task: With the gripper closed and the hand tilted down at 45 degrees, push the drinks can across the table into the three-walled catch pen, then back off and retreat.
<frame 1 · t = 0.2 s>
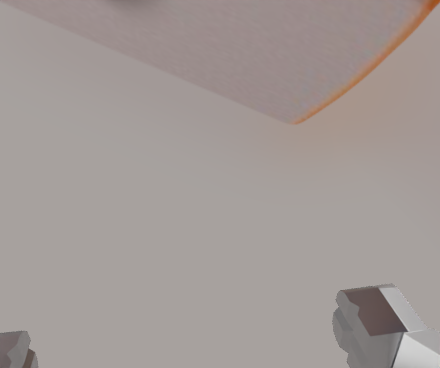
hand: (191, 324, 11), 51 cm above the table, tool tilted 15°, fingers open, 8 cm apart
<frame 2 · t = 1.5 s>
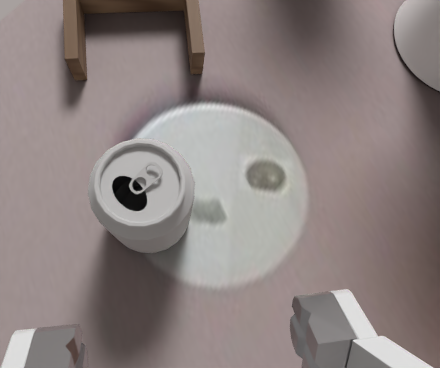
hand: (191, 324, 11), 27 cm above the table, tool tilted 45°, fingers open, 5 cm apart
catch pen: (137, 47, 43), on the table
can: (150, 214, 39), on the table
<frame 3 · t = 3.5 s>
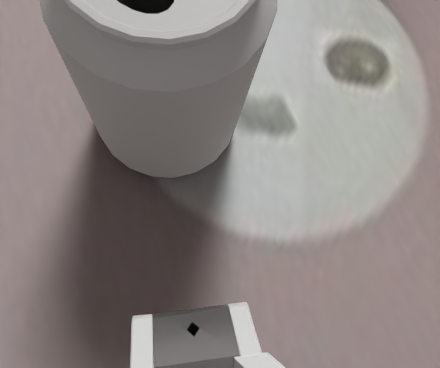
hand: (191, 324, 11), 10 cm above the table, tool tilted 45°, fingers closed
can: (167, 118, 23), on the table
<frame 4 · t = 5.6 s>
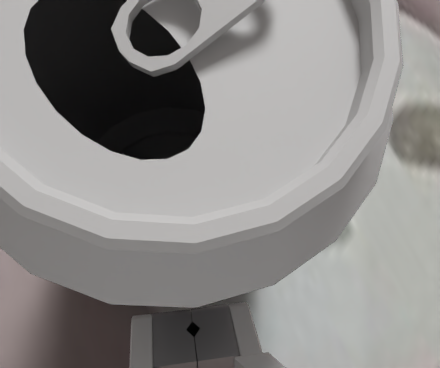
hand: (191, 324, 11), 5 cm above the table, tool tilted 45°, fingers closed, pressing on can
can: (173, 203, 17), on the table, touching gripper
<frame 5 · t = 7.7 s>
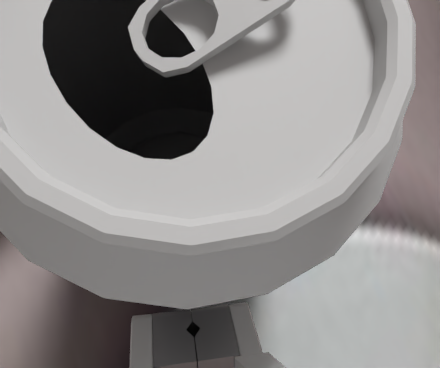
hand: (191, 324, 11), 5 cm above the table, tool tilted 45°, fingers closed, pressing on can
can: (179, 203, 17), on the table, touching gripper
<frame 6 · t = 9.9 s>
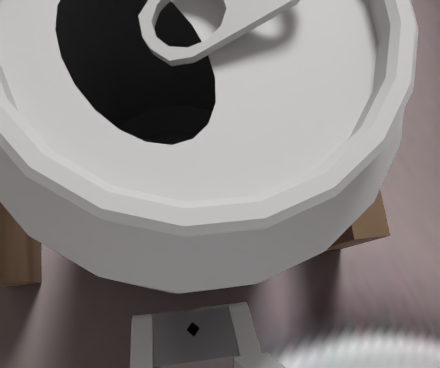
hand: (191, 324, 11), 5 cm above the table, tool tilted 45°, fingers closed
catch pen: (175, 180, 17), on the table
can: (182, 200, 17), on the table
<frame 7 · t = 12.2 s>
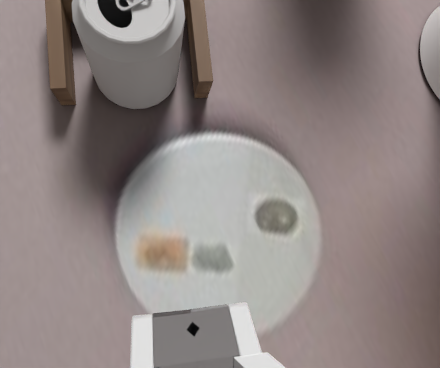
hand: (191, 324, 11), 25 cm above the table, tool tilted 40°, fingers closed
catch pen: (133, 64, 38), on the table
can: (136, 73, 38), on the table
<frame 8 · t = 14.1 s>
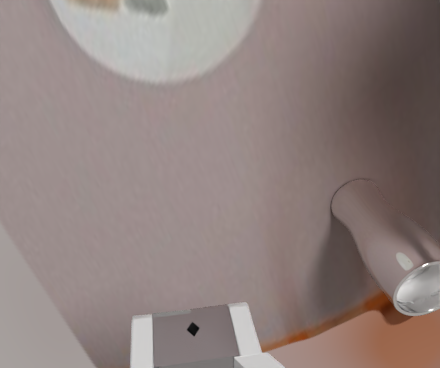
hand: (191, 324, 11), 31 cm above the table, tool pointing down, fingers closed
beer glass: (354, 199, 50), on the table
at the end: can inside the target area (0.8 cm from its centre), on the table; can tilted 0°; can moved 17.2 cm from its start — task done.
